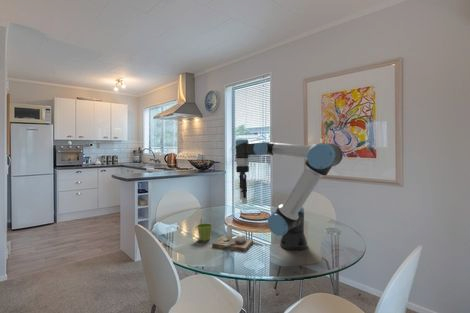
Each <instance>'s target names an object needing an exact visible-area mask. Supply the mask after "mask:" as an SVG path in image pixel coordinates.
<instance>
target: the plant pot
mask: <svg viewBox="0 0 470 313" xmlns="http://www.w3.org/2000/svg"><path fill="white" fill-rule="evenodd" d="M212 227H213V225H212V224H211V223H199V224H197V225H196V228H197V230H198V235H199V241H203V242H207V241H209V240H210V238H211V232H212V231H211V230H212Z"/></svg>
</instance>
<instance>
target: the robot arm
mask: <svg viewBox="0 0 470 313" xmlns="http://www.w3.org/2000/svg"><path fill="white" fill-rule="evenodd" d="M343 154H344V153H343V150H342V149H341V147H340V146H339V145H337V144H335V143H325V142H321V143H317V144H314V145H306V144H296V143H295V144H294V143H281V142H272V141H267V142H266V141H252V142H249V139H245V138H243V139H240V138H239V139H236V140H235V160H234V161H235V165H236V166H235V170H236V173H239V176H238V177H239V178H238V180H239V199H240V200H241V204H244V205H245V204H248V187H247V186H248V184H247V174H246V173H250V166H249V165H250V159H249V158H250V157H249V156H266V155H267V156H268V155H269V156H275V157H277V156H278V157H283V158H285V157H286V158H293V159H294V158H295V159H304V160H306V161H305V162H304V165H305V168H304V170H303V172H302V173H301V175H300V177H299V179H298V180H297V181H296V183H295V184H294V186H293V188H292V190H291V191H290V192H289V194H288V196H287V197H286V199H285V201H284V203H282V204H279V205H278V207H277V208H276V210H275V212H274V213H271V214H270V215H269V216H268V218H267V226H268V229H269V230H270V232H271V233H272V234H274V235H276V236H278V237H279V236H281V237H280V240H279V246H280V247H281V248H283V249H285V250H289V251H302V250H305V249H307V247H308V242H307V239H306V238H307V237H306V235H305V208H304V205H305V203H306V202H307V200H308V198H309V197H310V195H311V194H312V192H313V191H314V189H315V188H316V186H317V185H318V183H319V181H320V180H321V178H322V177H326V176H327V175H328V174H329V172H330V170H331V169H332V168H333V167H335V166H337V165H339V164H340V163H341V161H343V160H342V159H343V156H344V155H343Z"/></svg>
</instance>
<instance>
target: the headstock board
mask: <svg viewBox="0 0 470 313" xmlns="http://www.w3.org/2000/svg"><path fill="white" fill-rule="evenodd" d="M226 240H228V239H227V235H226V236H225V235H222V236H220V237H219V238H217V239H216V240H215V241H214V242H212V243H211V247H212V248H215V249H224V250H232V251H238V252H246V251H247V250H248V249H249V248H250V247H251V246H252V245H253V244H254V239H252V238H251V239H249V238H245V242H243V243H239V242H236V241H234V242H224V241H226Z"/></svg>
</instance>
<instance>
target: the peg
mask: <svg viewBox="0 0 470 313" xmlns="http://www.w3.org/2000/svg"><path fill="white" fill-rule="evenodd" d="M226 231H227V232H226V236H227V239H228V240H226V241H224V242H234V241H236V242H239V243H243V242H245V239H246V234H245V233H237V234H235V236H233V224H232V223H227V224H226Z"/></svg>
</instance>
